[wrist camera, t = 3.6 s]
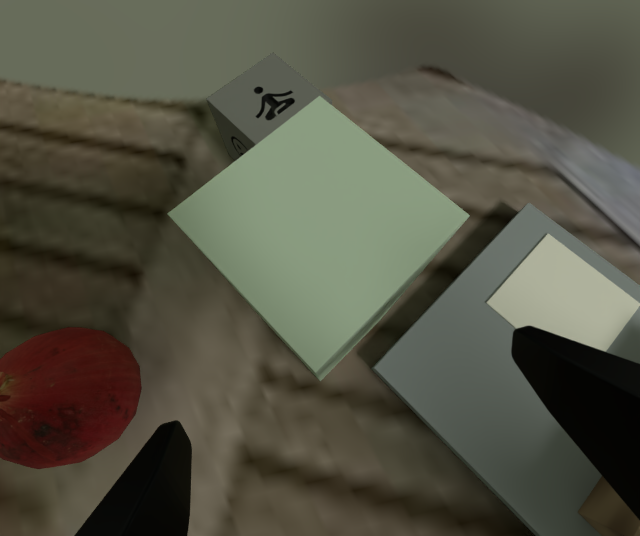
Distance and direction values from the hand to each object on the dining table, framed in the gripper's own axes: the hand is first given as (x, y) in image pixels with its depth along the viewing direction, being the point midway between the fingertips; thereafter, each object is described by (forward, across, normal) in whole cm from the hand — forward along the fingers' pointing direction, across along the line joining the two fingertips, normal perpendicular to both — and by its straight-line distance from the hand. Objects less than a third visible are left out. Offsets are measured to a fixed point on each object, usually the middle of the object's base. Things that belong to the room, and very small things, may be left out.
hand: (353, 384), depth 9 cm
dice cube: (+19, 0, -3) cm, 19 cm away
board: (+5, -12, +10) cm, 16 cm away
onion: (+10, +12, +6) cm, 16 cm away
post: (+10, 0, +5) cm, 11 cm away
